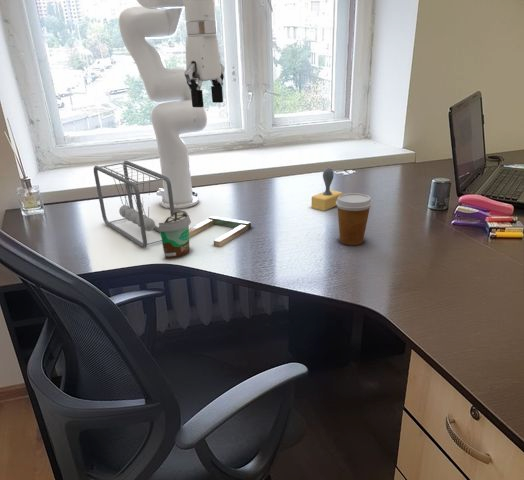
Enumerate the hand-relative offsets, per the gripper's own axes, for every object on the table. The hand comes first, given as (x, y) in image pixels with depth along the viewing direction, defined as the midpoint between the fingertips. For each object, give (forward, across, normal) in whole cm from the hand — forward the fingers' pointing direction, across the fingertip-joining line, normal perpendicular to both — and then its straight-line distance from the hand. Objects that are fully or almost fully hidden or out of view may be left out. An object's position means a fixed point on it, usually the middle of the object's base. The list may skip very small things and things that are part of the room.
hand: (208, 104), depth 141 cm
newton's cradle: (+34, +12, -20) cm, 41 cm away
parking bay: (+34, +5, +2) cm, 34 cm away
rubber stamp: (+34, -32, +22) cm, 52 cm away
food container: (+34, +21, +1) cm, 40 cm away
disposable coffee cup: (+35, -5, +40) cm, 53 cm away
